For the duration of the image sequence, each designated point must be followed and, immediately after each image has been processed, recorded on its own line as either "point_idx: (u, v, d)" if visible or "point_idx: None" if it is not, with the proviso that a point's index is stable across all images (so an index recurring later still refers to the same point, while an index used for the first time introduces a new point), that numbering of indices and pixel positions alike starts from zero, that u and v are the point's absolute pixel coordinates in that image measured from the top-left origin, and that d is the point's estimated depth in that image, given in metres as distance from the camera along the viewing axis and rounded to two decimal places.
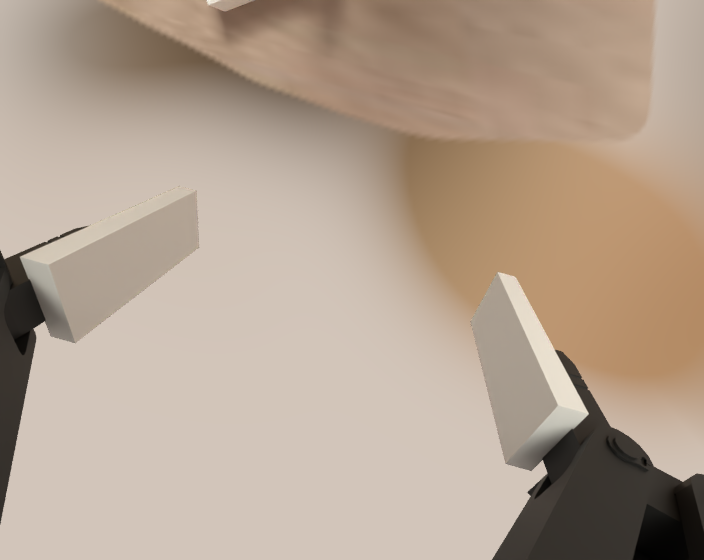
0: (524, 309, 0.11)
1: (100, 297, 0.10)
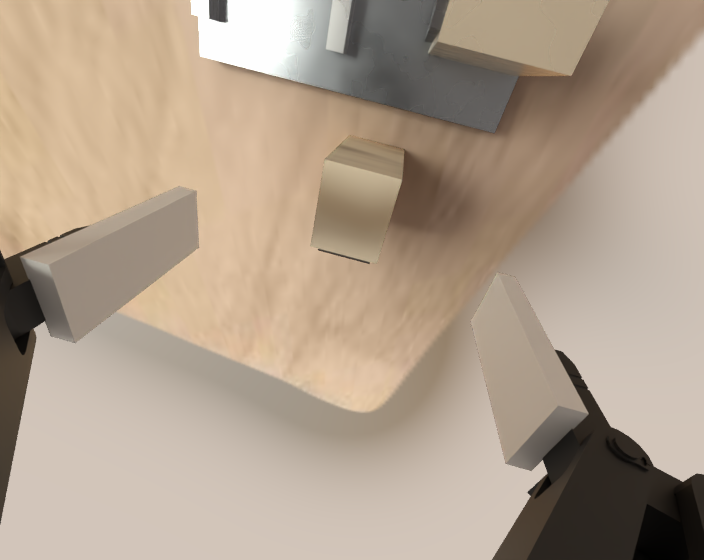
0: (524, 309, 0.11)
1: (100, 297, 0.10)
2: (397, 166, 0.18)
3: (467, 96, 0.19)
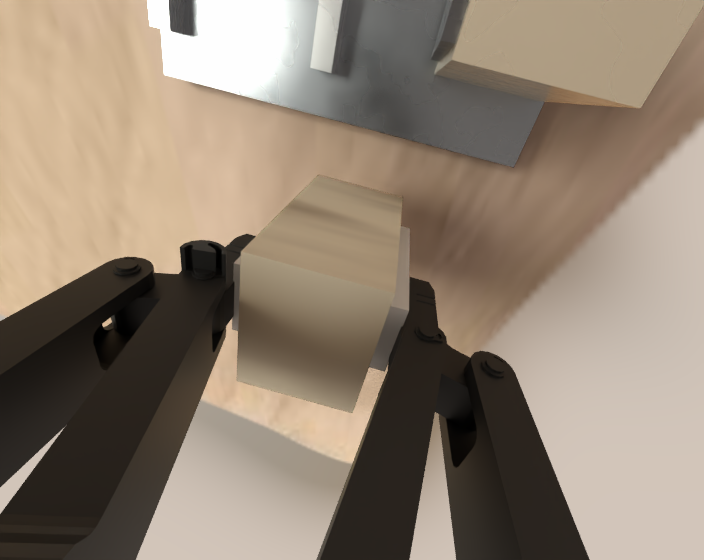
0: (401, 248, 0.13)
1: None
2: (388, 247, 0.10)
3: (482, 124, 0.16)
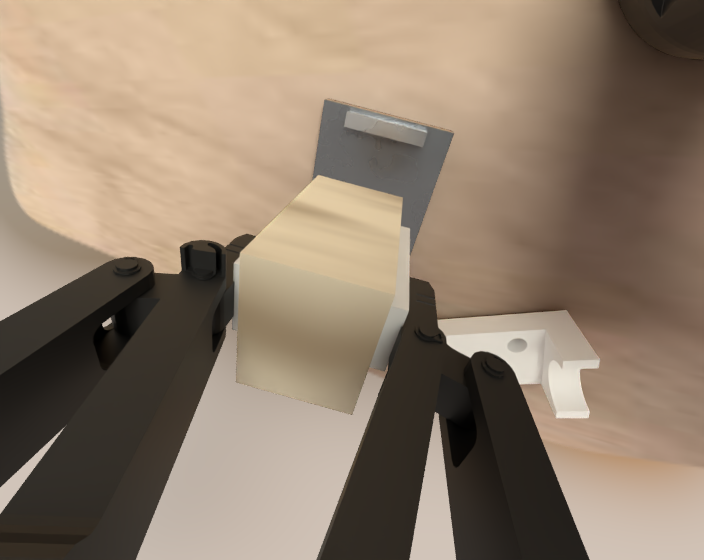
0: (401, 248, 0.13)
1: None
2: (388, 248, 0.10)
3: None
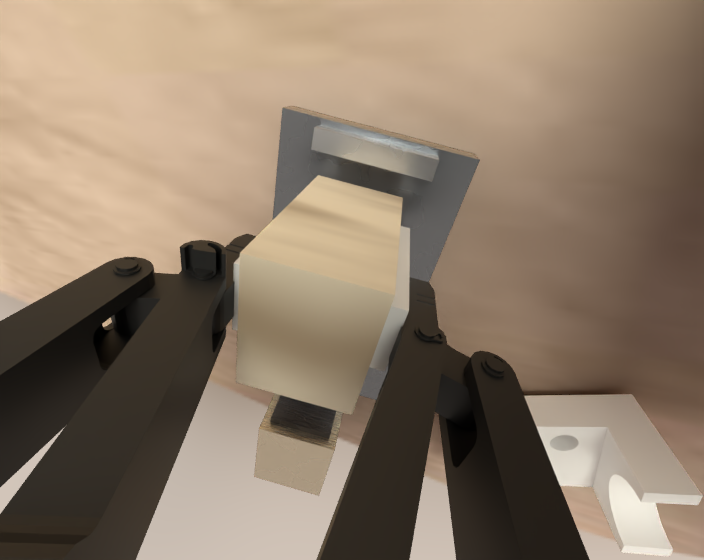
0: (401, 248, 0.13)
1: None
2: (388, 248, 0.10)
3: None
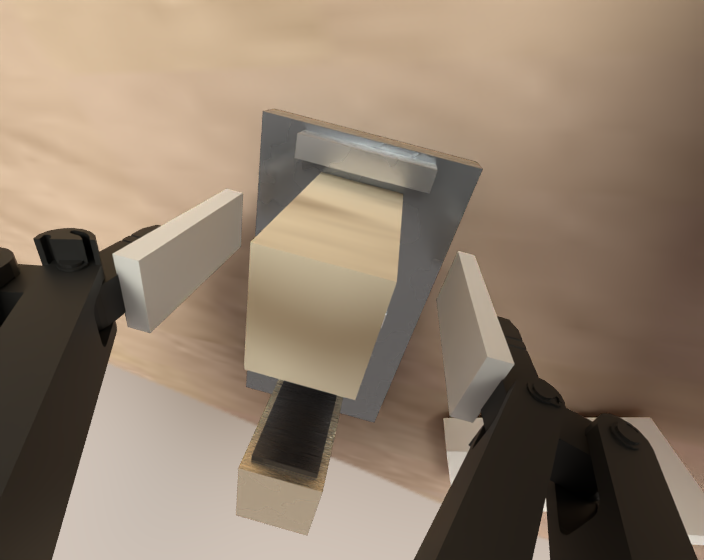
0: (476, 281, 0.12)
1: (170, 291, 0.11)
2: (389, 240, 0.11)
3: None
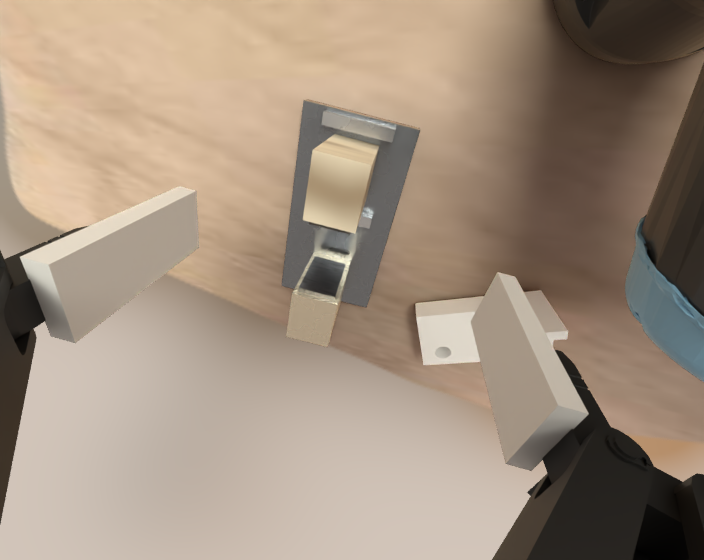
0: (524, 309, 0.11)
1: (100, 297, 0.10)
2: (370, 156, 0.23)
3: (297, 271, 0.36)
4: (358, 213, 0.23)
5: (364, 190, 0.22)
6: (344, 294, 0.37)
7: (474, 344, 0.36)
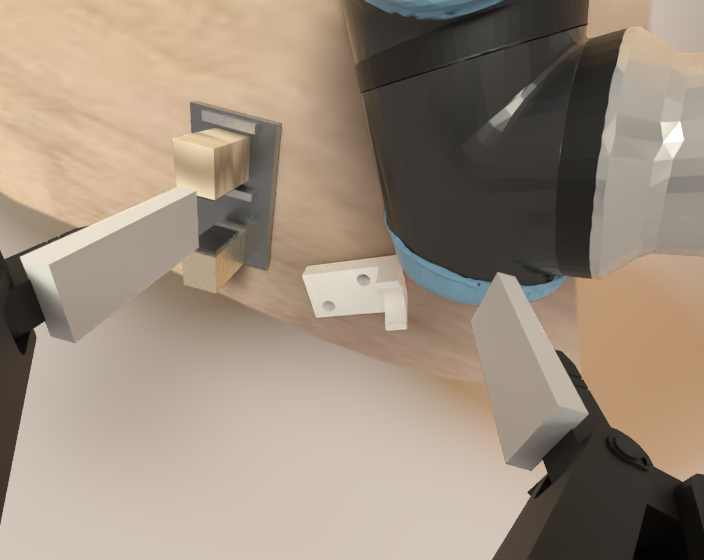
0: (524, 309, 0.11)
1: (100, 297, 0.10)
2: (223, 143, 0.32)
3: None
4: (213, 184, 0.32)
5: (213, 167, 0.31)
6: (246, 258, 0.45)
7: (350, 298, 0.44)
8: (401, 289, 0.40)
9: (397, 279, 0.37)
